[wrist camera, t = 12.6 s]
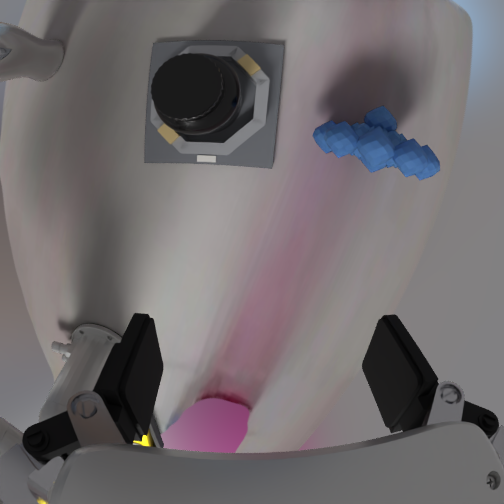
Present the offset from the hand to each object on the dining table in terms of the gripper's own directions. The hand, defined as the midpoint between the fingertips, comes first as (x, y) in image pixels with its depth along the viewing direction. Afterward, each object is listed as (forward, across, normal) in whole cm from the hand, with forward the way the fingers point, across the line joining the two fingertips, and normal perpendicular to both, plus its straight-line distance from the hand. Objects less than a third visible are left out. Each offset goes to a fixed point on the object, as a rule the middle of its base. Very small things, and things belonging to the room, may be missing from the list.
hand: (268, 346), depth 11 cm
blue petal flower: (+23, -11, -9) cm, 27 cm away
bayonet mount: (+23, +5, -11) cm, 26 cm away
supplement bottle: (+22, +5, -11) cm, 25 cm away
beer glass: (+23, +27, -20) cm, 41 cm away
